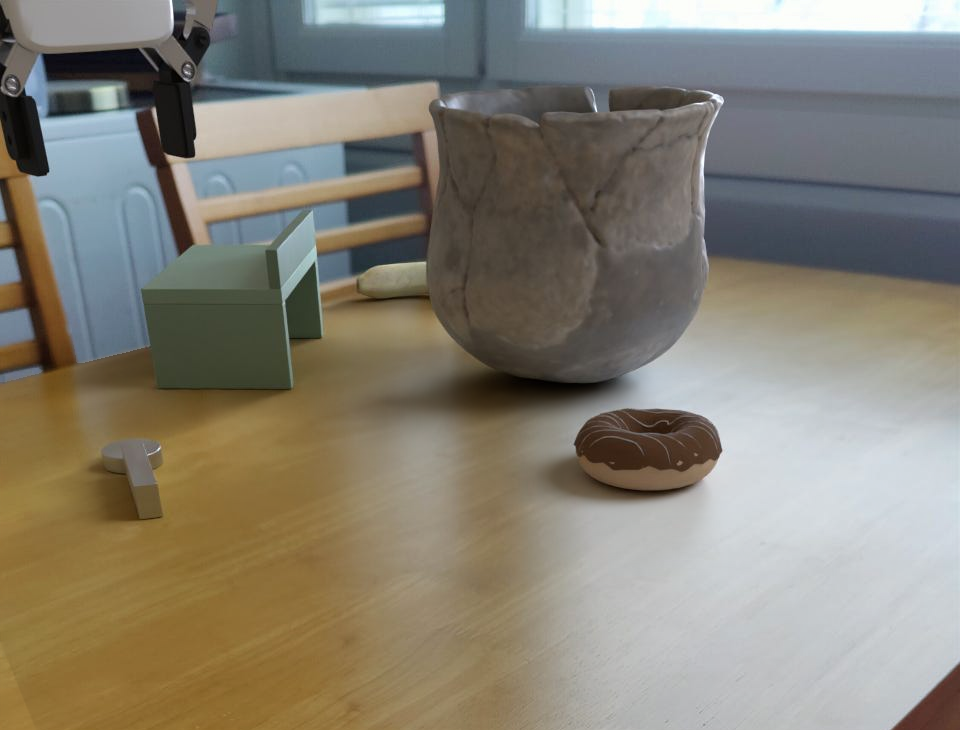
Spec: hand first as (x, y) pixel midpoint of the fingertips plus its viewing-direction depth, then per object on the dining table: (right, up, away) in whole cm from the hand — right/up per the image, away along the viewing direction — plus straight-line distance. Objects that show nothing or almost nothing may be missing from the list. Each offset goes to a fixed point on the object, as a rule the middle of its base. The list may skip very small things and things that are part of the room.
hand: (109, 164), depth 74 cm
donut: (+35, -14, +15) cm, 41 cm away
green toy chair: (+1, +4, +40) cm, 40 cm away
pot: (+30, +1, +35) cm, 46 cm away
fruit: (+17, +18, +57) cm, 62 cm away
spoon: (-2, -15, +14) cm, 21 cm away
